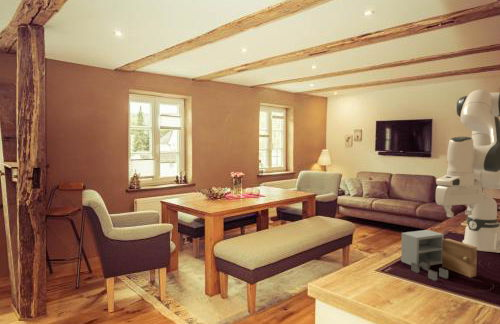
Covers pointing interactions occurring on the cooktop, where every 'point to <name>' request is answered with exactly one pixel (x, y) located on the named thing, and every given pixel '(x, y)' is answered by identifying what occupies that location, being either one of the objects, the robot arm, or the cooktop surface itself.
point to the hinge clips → (431, 273)
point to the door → (459, 257)
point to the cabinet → (421, 247)
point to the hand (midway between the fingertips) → (459, 216)
